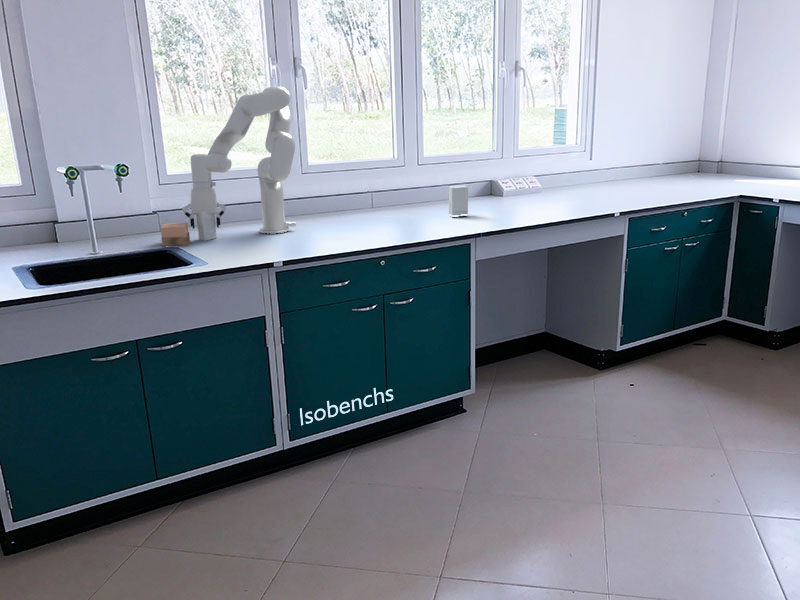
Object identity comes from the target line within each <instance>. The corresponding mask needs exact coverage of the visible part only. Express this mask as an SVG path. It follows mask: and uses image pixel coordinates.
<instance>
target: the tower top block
mask: <svg viewBox="0 0 800 600" xmlns="http://www.w3.org/2000/svg"><path fill="white" fill-rule="evenodd" d="M188 225H189V224H188V222H171V223H169V222H168V223H165V222H164V223H163V224H162V225H161V227H160V233H161V234H160V235H161V239H162V238H171V237H186V236H187V234H188V232H189V226H188Z"/></svg>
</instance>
